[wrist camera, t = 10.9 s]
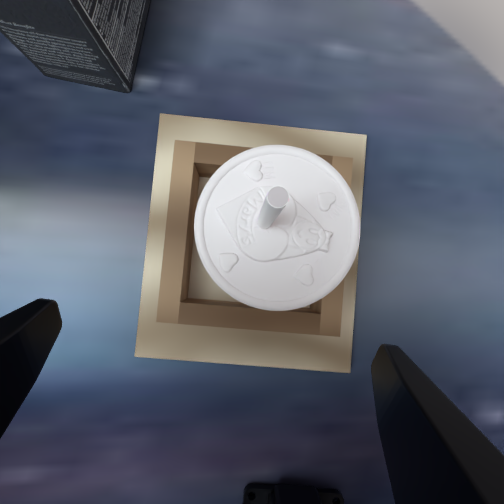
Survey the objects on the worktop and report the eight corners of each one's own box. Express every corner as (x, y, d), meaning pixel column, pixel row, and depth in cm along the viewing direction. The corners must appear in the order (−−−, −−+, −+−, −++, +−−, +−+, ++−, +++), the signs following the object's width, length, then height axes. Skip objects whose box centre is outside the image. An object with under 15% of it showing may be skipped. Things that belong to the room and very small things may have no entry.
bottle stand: (346, 369, 23) (368, 389, 19) (138, 353, 22) (117, 370, 18) (362, 139, 24) (386, 114, 20) (163, 118, 23) (148, 89, 19)
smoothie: (228, 185, 22) (211, 43, 8) (320, 213, 22) (456, 118, 8) (200, 278, 22) (132, 294, 8) (294, 305, 22) (392, 368, 8)
